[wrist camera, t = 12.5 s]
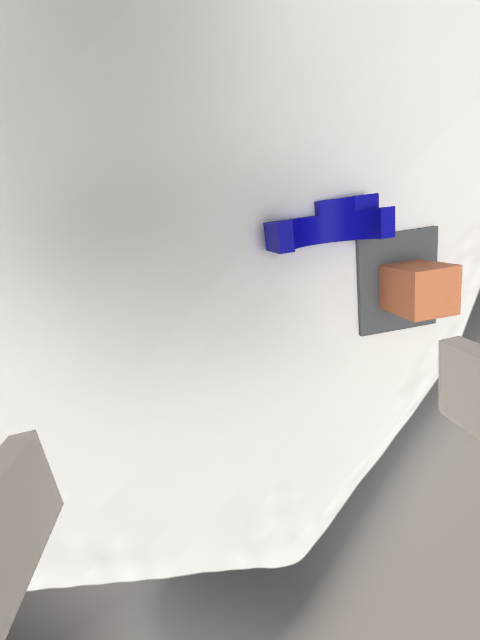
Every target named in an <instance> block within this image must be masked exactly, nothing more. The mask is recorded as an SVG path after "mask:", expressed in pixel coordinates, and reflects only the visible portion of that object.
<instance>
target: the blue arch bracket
mask: <svg viewBox="0 0 480 640" xmlns="http://www.w3.org/2000/svg"><path fill="white" fill-rule="evenodd" d="M264 232H265V241H266V250H267V251H271V252H275V253H278V254H283V253H290V252H295V249H297V248H300V247H304V246H309V245H315V244H322V243H329V242H337V241H348V240H361V239H386V238H393V237H395V206H391V207H382V208H379V194H378V193H375V194H367V195H359V196H352V197H345V198H338V199H331V200H324V201H317V202H315V216H311V217H304V218H296V219H289V220H282V221H274V222H267V223H264Z"/></svg>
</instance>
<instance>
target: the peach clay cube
mask: <svg viewBox="0 0 480 640" xmlns="http://www.w3.org/2000/svg"><path fill="white" fill-rule="evenodd" d="M461 284H462V265H458V264H450V263H443V262H435V261H428V260H421V259H418V260H411V261H405V262H399V263H392V264H386V265H379V308H381V309H383V310H385V311H388V312H390V313H393V314H395V315H398V316H400V317H403V318H405V319H407V320H410V321H412V322H420V321H425V320H431V319H437V318H442V317H448V316H453V315H459V314H460V305H461Z"/></svg>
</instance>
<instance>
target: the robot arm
mask: <svg viewBox="0 0 480 640" xmlns="http://www.w3.org/2000/svg"><path fill="white" fill-rule="evenodd" d="M439 412H440V413H441V414H443V415H444V416H445V417H447V418H448V419H449V420H451V421H452V422H454V423H455V424H456V425H458V426H459V427H461V428H462V429H463V430H465V431H466V432H467V433H469V434H470V435H471V436H473V437H474V438H475V439H477V440H478V441H480V344H478V343H476V342H473V341H471V340H468V339H466V338H463V337H461V336H456V337H452V338H447V339H443V340H439ZM63 504H64V503H63V501H62V498H61V496H60V493H59V490H58V488H57V485H56V482H55V480H54V477H53V474H52V472H51V469H50V467H49V464H48V461H47V459H46V456H45V453H44V451H43V448H42V445H41V443H40V440H39V438H38V435H37V432H36V430H33V431H28V432H24V433H19V434H15V435H10V436H8V437H7V439H6V440H5V441H4V442H3V443H2V445H1V446H0V640H5V639H6V637H7V635H8V632H9V630H10V627H11V625H12V623H13V620H14V618H15V616H16V614H17V611H18V609H19V606H20V604H21V602H22V600H23V597H24V595H25V592H26V590H27V588H28V586H29V583H30V581H31V579H32V576H33V574H34V572H35V569H36V567H37V565H38V562H39V560H40V558H41V555H42V553H43V550H44V548H45V546H46V543H47V541H48V539H49V536H50V534H51V532H52V529H53V527H54V525H55V522H56V520H57V518H58V515H59V513H60V511H61V508H62V506H63Z"/></svg>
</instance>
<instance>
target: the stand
mask: <svg viewBox="0 0 480 640" xmlns="http://www.w3.org/2000/svg"><path fill="white" fill-rule="evenodd" d="M437 248H438V226H432V227H425V228H418V229H411V230H404V231H398V232H395V237H393V238H386V239H361V240H356V258H357V285H358V313H359V335H360V336H367V335H372V334H378V333H383V332H389V331H394V330H400V329H406V328H411V327H417V326H422V325H428V324H433V323H436V319H431V320H425V321H420V322H412V321H410V320H407V319H405V318H403V317H400V316H398V315H395V314H393V313H390V312H388V311H385V310H383V309H381V308H379V265H386V264H392V263H399V262H405V261H411V260H418V259H421V260H428V261H435V262H437Z"/></svg>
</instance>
